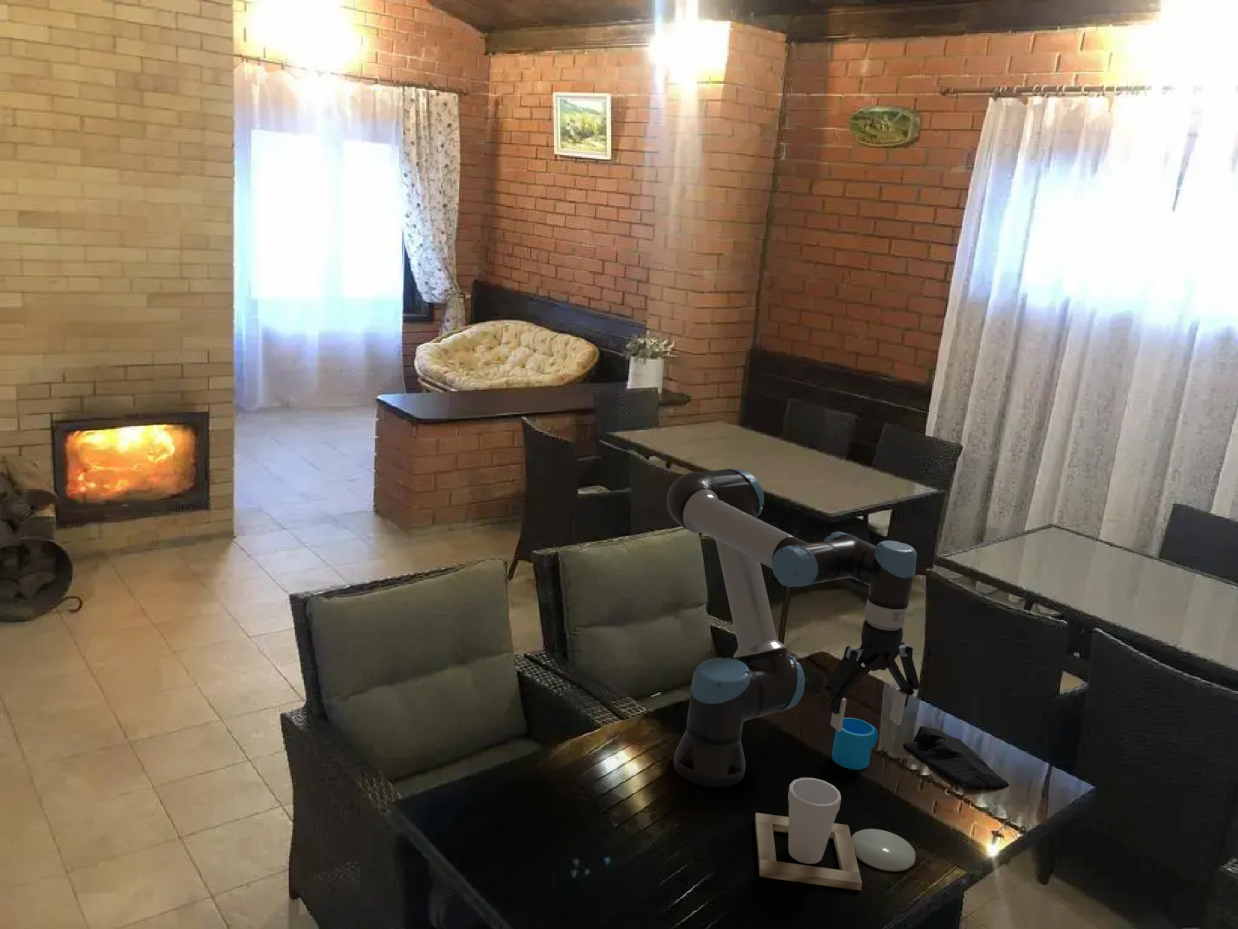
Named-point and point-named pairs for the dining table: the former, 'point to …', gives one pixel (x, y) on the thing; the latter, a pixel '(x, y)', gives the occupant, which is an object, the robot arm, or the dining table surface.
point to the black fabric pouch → (953, 759)
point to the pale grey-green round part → (883, 850)
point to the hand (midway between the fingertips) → (865, 725)
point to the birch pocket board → (802, 873)
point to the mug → (854, 744)
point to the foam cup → (811, 818)
